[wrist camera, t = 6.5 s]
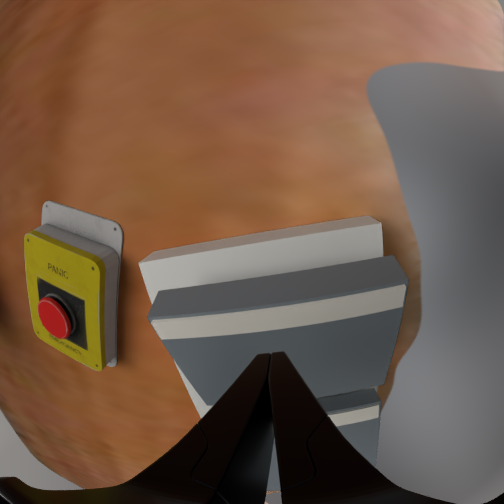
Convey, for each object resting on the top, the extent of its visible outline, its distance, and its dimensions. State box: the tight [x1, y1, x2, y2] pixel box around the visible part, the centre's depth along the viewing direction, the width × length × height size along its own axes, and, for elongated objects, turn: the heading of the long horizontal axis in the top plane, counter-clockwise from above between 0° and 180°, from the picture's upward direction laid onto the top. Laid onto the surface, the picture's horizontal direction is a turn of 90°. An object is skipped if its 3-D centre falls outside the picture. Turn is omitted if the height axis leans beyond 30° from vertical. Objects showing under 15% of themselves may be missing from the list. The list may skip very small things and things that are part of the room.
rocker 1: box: [147, 255, 409, 406], centre depth 15 cm, size 9×12×2 cm
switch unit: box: [139, 215, 383, 418], centre depth 19 cm, size 22×15×4 cm
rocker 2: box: [267, 388, 381, 491], centre depth 18 cm, size 9×12×2 cm
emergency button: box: [24, 201, 123, 371], centre depth 20 cm, size 9×4×15 cm
